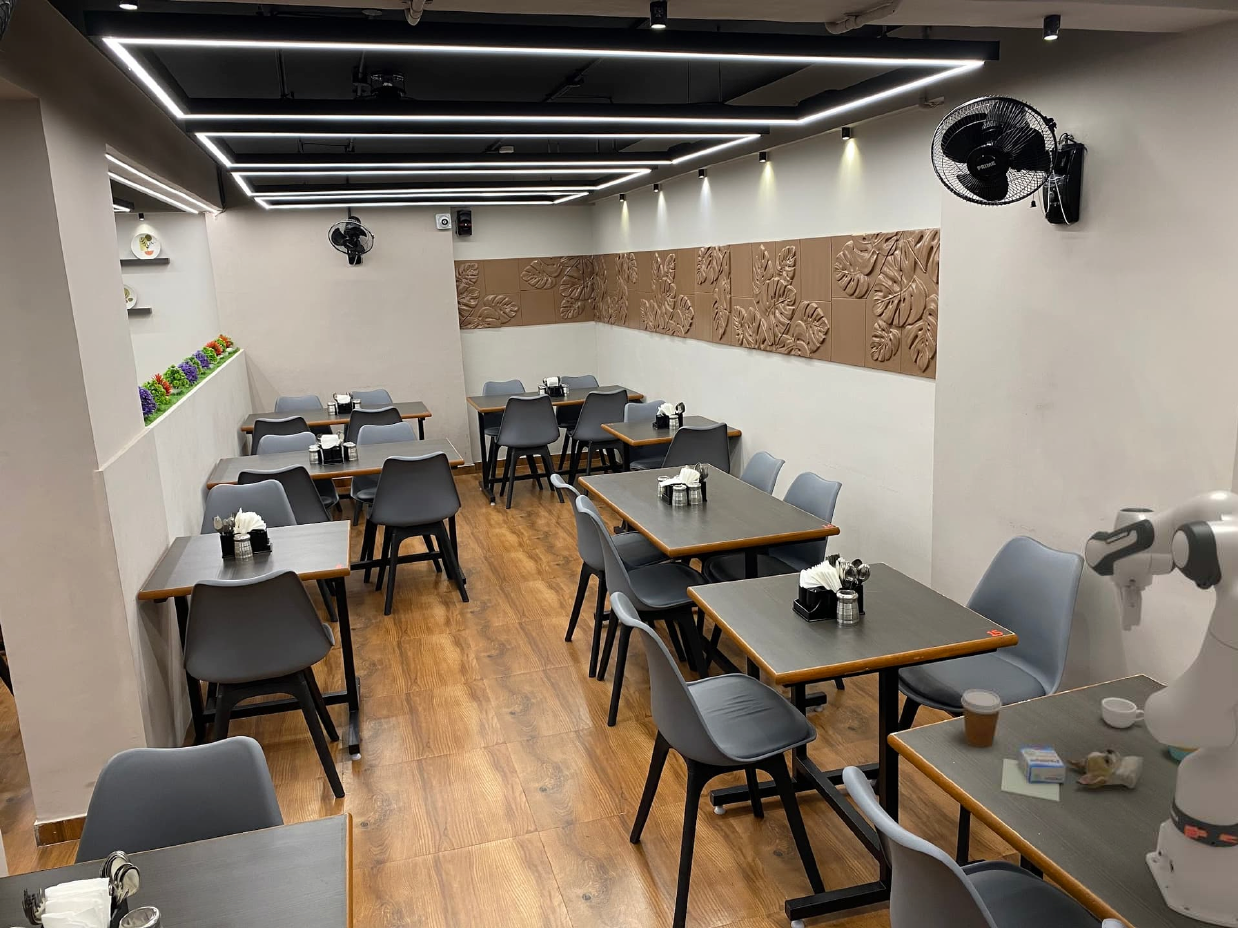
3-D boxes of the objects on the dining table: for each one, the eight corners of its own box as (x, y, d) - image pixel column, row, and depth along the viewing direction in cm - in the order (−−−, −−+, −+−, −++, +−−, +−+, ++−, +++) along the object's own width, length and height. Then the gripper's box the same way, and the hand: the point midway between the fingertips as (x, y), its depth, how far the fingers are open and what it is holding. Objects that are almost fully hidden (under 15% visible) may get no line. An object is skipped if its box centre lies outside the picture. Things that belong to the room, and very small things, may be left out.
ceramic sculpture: (1150, 763, 198) (1075, 760, 202) (1149, 798, 200) (1075, 795, 204) (1136, 738, 208) (1065, 736, 212) (1135, 772, 210) (1065, 769, 214)
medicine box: (1052, 746, 214) (1066, 766, 205) (1051, 763, 215) (1065, 783, 206) (1017, 746, 215) (1030, 766, 206) (1016, 763, 216) (1029, 783, 207)
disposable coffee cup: (983, 754, 220) (985, 710, 217) (951, 738, 228) (952, 695, 225) (1008, 743, 225) (1010, 699, 222) (976, 727, 233) (978, 684, 230)
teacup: (1102, 729, 229) (1104, 709, 228) (1098, 714, 236) (1099, 695, 235) (1147, 734, 226) (1149, 714, 224) (1141, 719, 233) (1143, 700, 231)
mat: (1059, 801, 200) (1059, 800, 200) (1000, 790, 206) (1001, 789, 205) (1058, 769, 213) (1058, 767, 213) (1003, 759, 218) (1003, 758, 218)
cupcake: (1177, 743, 221) (1181, 699, 218) (1212, 760, 213) (1217, 714, 211) (1154, 753, 217) (1158, 708, 215) (1189, 770, 210) (1193, 723, 207)
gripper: (1150, 590, 201) (1145, 647, 204) (1142, 561, 218) (1137, 614, 222) (1118, 587, 203) (1113, 644, 206) (1113, 558, 221) (1108, 611, 224)
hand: (1126, 628), depth 214 cm, fingers closed
